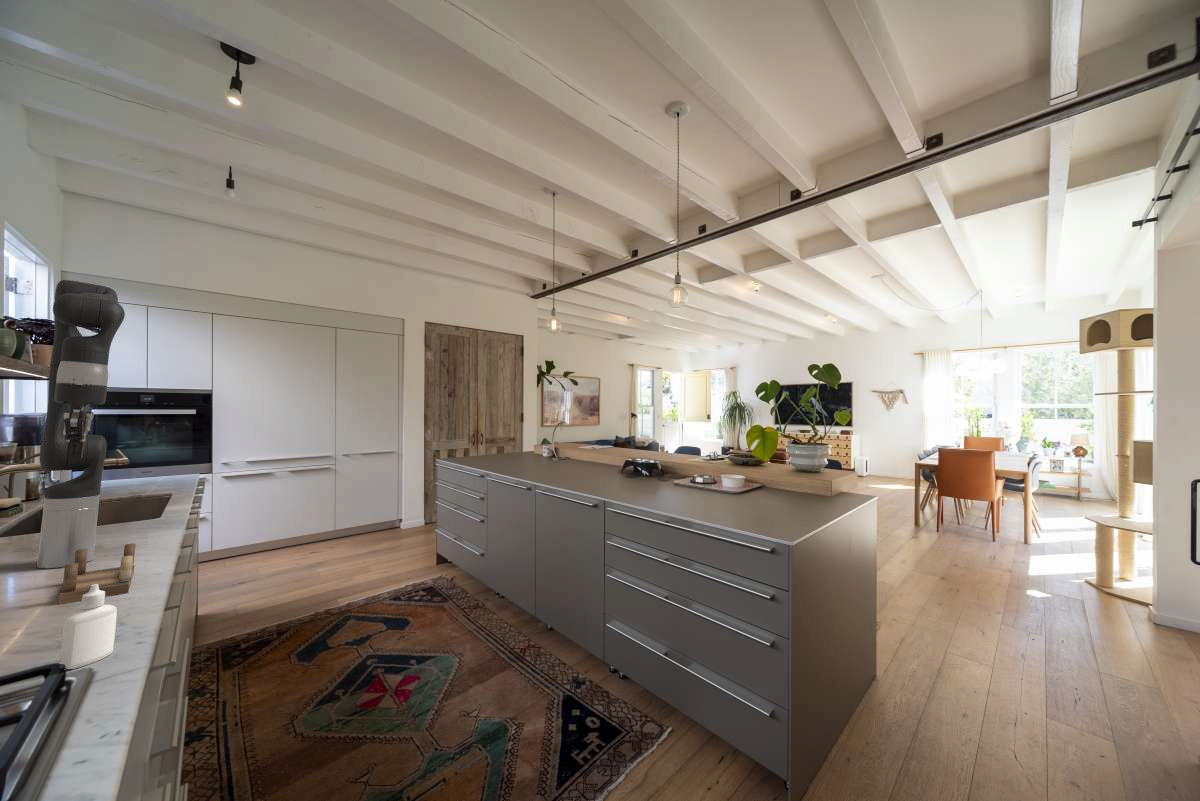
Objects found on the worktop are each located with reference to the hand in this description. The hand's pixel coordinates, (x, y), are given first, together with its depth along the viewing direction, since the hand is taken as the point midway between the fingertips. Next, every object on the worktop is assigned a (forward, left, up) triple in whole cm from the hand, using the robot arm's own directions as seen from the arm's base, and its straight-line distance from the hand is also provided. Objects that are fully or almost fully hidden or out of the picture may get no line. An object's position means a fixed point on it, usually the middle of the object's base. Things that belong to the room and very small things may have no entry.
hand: (74, 458), depth 97 cm
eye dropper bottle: (+46, +8, -29) cm, 55 cm away
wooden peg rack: (+4, +6, -29) cm, 30 cm away
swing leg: (+6, +10, -27) cm, 29 cm away
